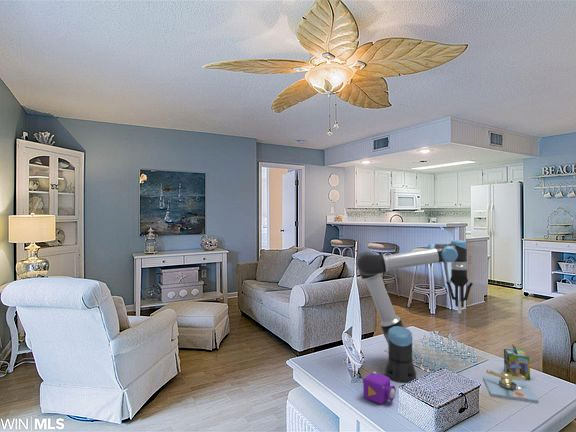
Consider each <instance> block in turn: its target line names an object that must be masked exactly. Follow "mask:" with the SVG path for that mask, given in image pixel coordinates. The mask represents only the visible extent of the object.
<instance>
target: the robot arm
mask: <svg viewBox="0 0 576 432" xmlns="http://www.w3.org/2000/svg"><path fill="white" fill-rule="evenodd" d="M467 251H468V249H467V242H466V241H465V240H460V239H454V240H451V241H450V243H448V244H447V243H446V244H445V243H431V244H430V243H429V244H428V245H427V248H426V249H421V250H413V251H406V252H400V253H394V254H387V255H385V254H384V253H381V254H374V253H373V252H371V251H369V250H367V251H365V250H364V251H361V252H360V253H358V255H356V257H355V260H356V263H355V266H356V268H357V269H358V273H359V275H360V277H361V279H362V280H363V281H365V283H366V285H367V288H368V291H369V292H370V295H371V298H372V300H373V303H374V305H375V308H376V310H377V313H378V315H379V318H380V320H381V321H380V322H379V323H380V324H379V325H380V328H381V330H382V332H383V333H382V334H383V337H384V338H385V341H386V342H387V345H388V346H387V347H388V349H387V350H388V351H387V352H388V359H387V363H386V365H385V369H384V372H385V373H384V376H387V377H389V378H390V381H394V382H398V383H406V382H407V383H410V382H409V381H412V380H414V379H416V380H417V371H416V369H415V366H414V362H413V333H412V332H411V330H410V329H409V328H406V327H405V326H404V324H403V322H402V319H401V317H400V316H398V315H397V314H396V311H395V308H394V307H393V304H392V302H391V301H392V300H391V299H390V297H389V294H388V292H387V289H386V286H385V284H384V281H383V279H382V276H381V274H385V273H387V272H388V271H393V270H399V269H403V268H404V269H405V268H413V267H417V266H425V265H431V264H438V263H451V264H450V266H451V267H450V268H451V272H450V273H451V274H450V275H451V276H450V278H449V280H445V282H446V284H447V286H448V289H449V292H450V294H449V295H450V296H451V299H452V300H454V303H455V304H454V305H455V307H457V313H458V314H462V308H464V306H465V305H464V302H465V301H467V300H468V299H469V294H470V290H471V289H472V288H471V287H472V286H473V282H472V281H469V279H468V270H467V268H468V265H467V264H468V262H467V255H468V252H467ZM452 284H453V286H454V292H453V288H452ZM466 285H467V286H466ZM465 286H466V289H465ZM464 289H465V293H464ZM459 292H460V293H459ZM459 295H460V298H459ZM407 383H406V384H407Z"/></svg>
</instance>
